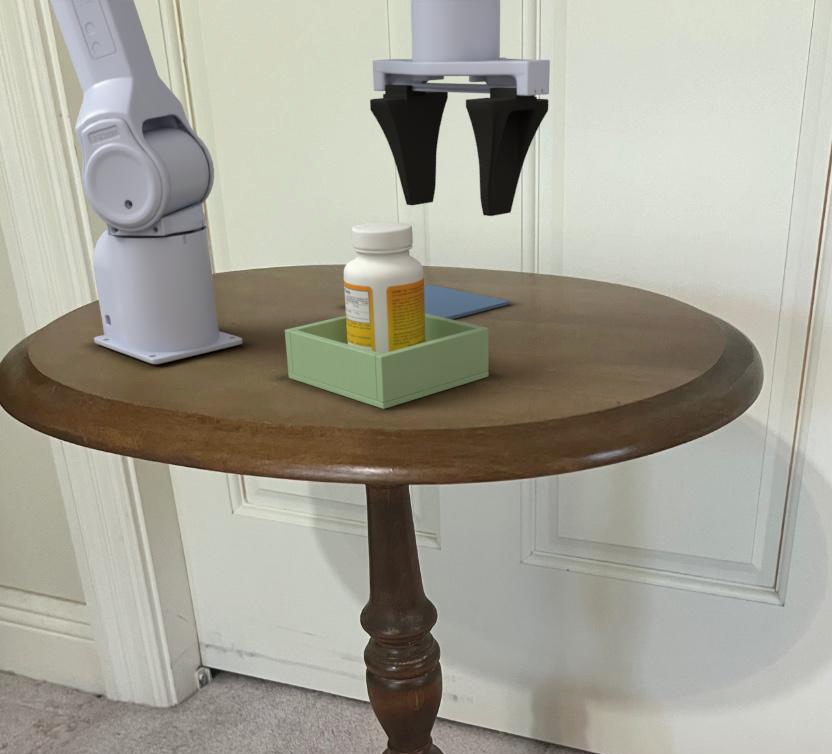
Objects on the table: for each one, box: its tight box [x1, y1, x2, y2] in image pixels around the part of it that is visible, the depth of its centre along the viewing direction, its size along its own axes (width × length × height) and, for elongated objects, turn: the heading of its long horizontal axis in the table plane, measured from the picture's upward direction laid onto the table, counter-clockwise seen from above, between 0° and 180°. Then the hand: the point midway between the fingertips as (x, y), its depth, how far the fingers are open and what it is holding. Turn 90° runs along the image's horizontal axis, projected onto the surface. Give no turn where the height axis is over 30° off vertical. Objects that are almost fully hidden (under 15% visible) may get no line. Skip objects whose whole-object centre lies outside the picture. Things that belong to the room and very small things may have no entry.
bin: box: [284, 313, 490, 410], centre depth 75 cm, size 10×10×3 cm
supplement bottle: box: [343, 221, 426, 354], centre depth 73 cm, size 5×5×10 cm
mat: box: [424, 284, 510, 320], centre depth 94 cm, size 10×10×1 cm
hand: (457, 208), depth 75 cm, fingers open, 7 cm apart
